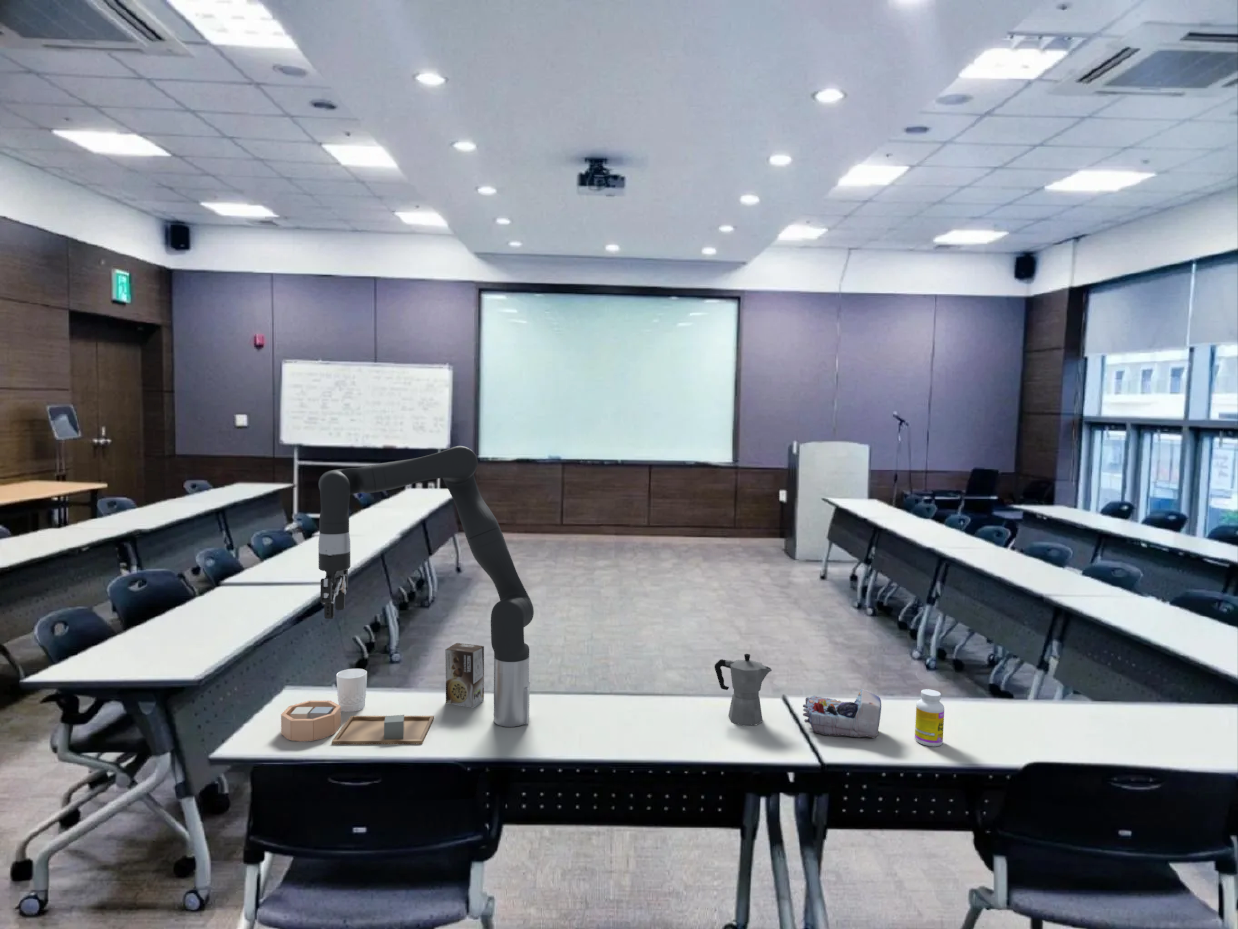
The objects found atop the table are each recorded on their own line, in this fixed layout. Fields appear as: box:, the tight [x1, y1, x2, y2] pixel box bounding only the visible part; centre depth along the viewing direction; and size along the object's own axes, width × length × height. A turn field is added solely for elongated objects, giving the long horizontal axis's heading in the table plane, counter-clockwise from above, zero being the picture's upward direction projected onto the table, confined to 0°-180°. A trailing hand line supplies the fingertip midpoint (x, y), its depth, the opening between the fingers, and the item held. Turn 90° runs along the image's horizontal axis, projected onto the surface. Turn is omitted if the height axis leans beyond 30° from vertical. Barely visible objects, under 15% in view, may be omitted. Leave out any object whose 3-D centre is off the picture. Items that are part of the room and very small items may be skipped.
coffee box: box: [444, 642, 485, 708], centre depth 214 cm, size 9×6×16 cm
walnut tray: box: [331, 715, 435, 746], centre depth 194 cm, size 22×16×1 cm
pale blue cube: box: [310, 707, 333, 719], centre depth 194 cm, size 4×4×5 cm
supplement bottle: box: [914, 688, 945, 747], centre depth 195 cm, size 7×7×13 cm
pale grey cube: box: [290, 707, 313, 719], centre depth 193 cm, size 4×4×5 cm
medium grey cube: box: [384, 714, 405, 740], centre depth 191 cm, size 5×4×4 cm
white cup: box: [336, 668, 368, 713], centre depth 209 cm, size 8×8×10 cm
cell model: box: [802, 688, 882, 738], centre depth 201 cm, size 13×11×20 cm
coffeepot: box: [714, 653, 772, 727], centre depth 207 cm, size 15×9×18 cm, turn 70°
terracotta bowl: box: [280, 700, 342, 742], centre depth 193 cm, size 13×13×6 cm
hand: (334, 613), depth 193 cm, fingers open, 8 cm apart
